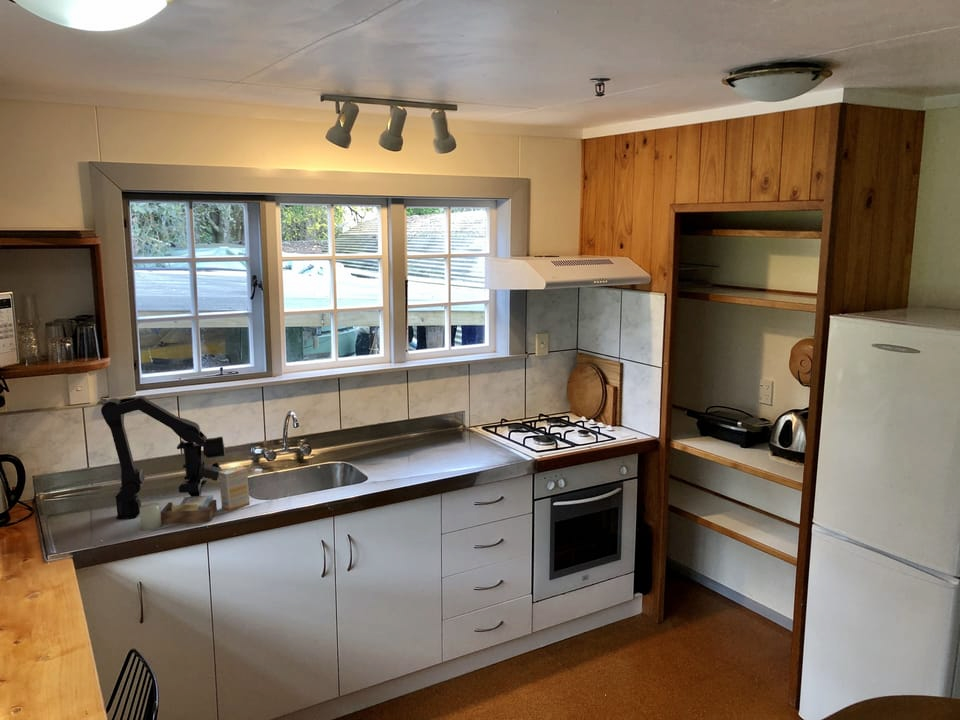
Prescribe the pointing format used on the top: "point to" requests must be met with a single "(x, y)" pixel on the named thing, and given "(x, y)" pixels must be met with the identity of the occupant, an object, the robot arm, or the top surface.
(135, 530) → the top surface
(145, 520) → the frosted glass jar
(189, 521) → the wooden tray
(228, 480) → the supplement box
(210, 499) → the carton
